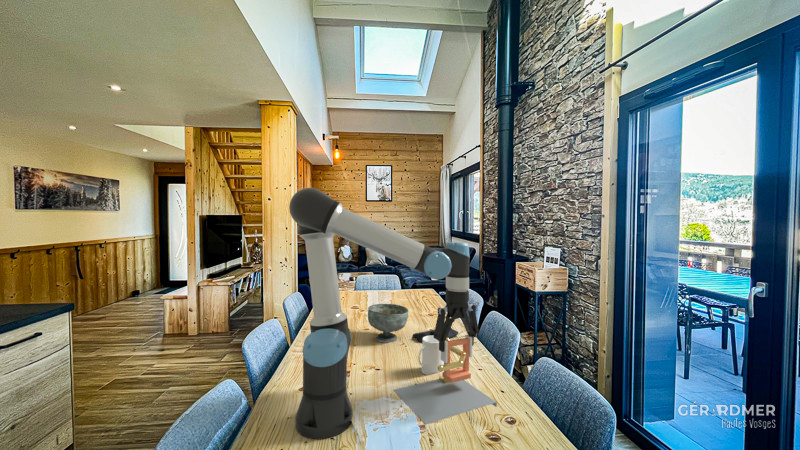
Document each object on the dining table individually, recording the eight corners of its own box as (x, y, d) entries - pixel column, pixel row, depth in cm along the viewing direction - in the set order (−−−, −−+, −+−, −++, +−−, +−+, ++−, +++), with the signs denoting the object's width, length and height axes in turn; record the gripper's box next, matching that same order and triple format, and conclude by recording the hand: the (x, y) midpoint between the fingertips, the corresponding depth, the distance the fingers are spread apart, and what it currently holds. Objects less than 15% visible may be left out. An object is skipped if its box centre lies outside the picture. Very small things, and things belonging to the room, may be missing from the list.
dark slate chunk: (463, 338, 157) (463, 328, 157) (428, 347, 145) (428, 336, 145) (442, 329, 170) (442, 320, 170) (408, 337, 158) (408, 327, 158)
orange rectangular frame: (472, 377, 105) (472, 340, 105) (449, 383, 101) (449, 345, 101) (462, 371, 109) (463, 336, 109) (440, 376, 105) (440, 339, 105)
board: (425, 428, 85) (425, 424, 85) (393, 393, 103) (393, 390, 103) (496, 406, 96) (496, 402, 96) (456, 378, 114) (456, 374, 114)
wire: (439, 412, 91) (439, 360, 91) (410, 386, 106) (411, 341, 106) (480, 400, 97) (480, 352, 98) (447, 377, 112) (448, 335, 112)
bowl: (408, 346, 144) (408, 313, 144) (365, 346, 144) (365, 312, 144) (407, 332, 164) (408, 302, 164) (369, 331, 164) (370, 302, 164)
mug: (425, 381, 112) (425, 346, 112) (409, 372, 119) (410, 339, 119) (449, 372, 119) (449, 339, 119) (433, 364, 125) (434, 333, 126)
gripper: (475, 285, 114) (475, 349, 113) (422, 289, 104) (421, 359, 103) (490, 288, 107) (490, 356, 107) (435, 294, 97) (434, 369, 97)
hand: (456, 358), depth 105 cm, fingers open, 9 cm apart
